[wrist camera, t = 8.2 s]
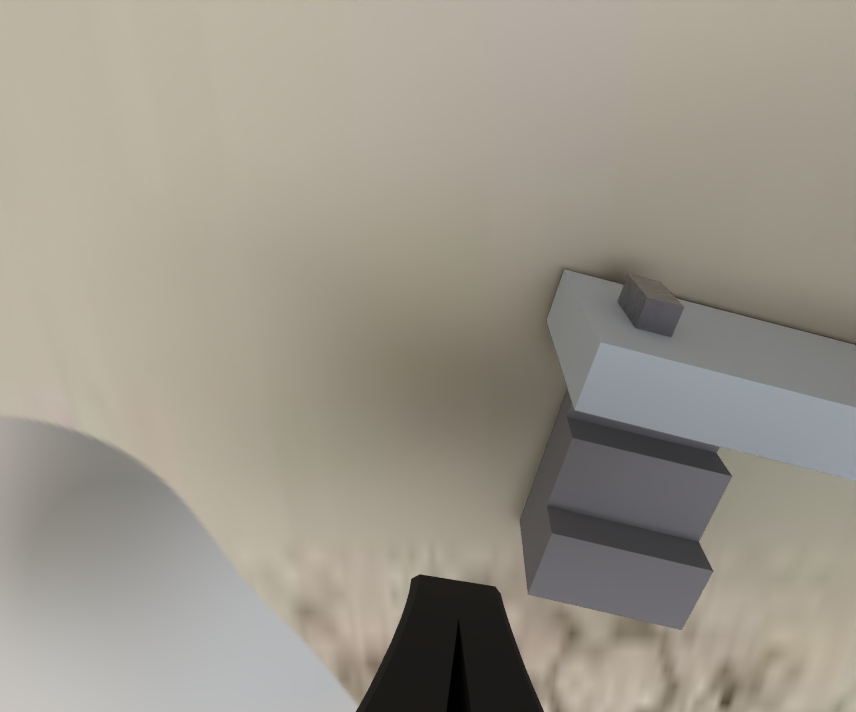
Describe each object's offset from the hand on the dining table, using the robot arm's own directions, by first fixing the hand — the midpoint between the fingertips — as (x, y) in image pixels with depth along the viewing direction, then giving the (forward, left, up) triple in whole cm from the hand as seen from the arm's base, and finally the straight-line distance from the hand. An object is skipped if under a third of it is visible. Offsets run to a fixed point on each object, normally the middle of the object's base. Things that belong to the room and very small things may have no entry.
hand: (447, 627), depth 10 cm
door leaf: (-8, -3, -9) cm, 12 cm away
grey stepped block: (-5, +2, -10) cm, 11 cm away
